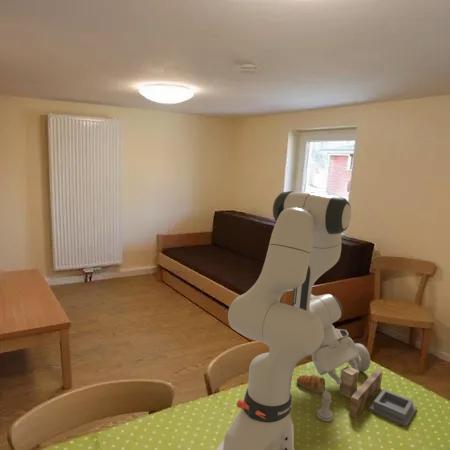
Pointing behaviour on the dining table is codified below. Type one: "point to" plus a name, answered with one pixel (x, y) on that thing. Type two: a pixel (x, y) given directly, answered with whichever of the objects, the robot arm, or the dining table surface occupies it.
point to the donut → (362, 358)
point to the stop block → (349, 381)
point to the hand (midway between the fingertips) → (349, 378)
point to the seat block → (393, 407)
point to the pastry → (312, 383)
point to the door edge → (365, 393)
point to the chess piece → (325, 408)
